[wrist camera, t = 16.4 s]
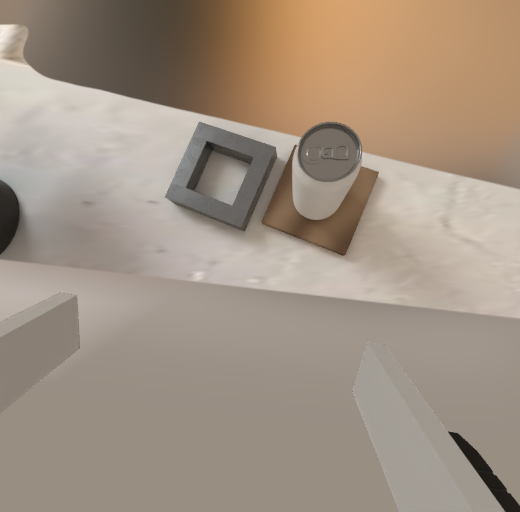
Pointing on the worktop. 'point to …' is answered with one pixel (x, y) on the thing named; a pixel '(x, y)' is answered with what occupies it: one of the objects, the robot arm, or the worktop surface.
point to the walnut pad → (325, 230)
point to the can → (324, 169)
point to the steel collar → (194, 165)
